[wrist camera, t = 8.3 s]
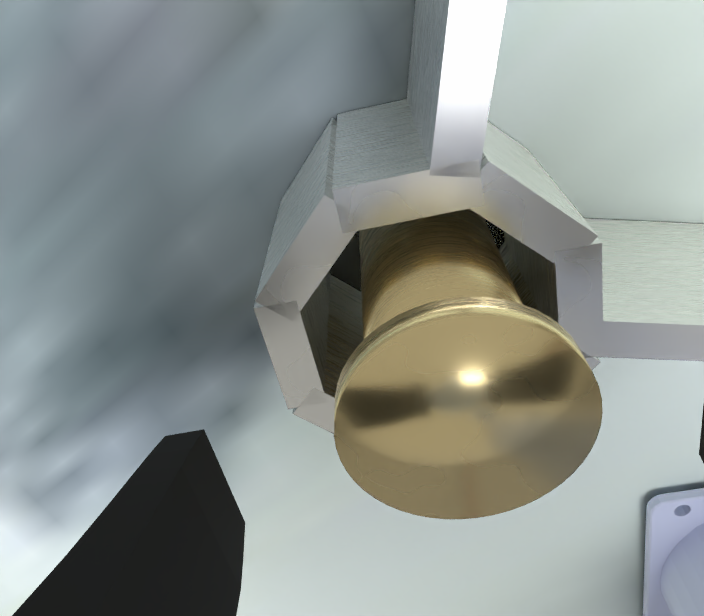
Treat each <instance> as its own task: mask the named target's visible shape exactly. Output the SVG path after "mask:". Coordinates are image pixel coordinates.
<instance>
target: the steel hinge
mask: <svg viewBox="0 0 704 616" xmlns="http://www.w3.org/2000/svg"><path fill="white" fill-rule="evenodd" d="M506 2H507V0H415V10H414V21H413V32H412V43H411V54H410V65H409V76H408V87H407V98H406V99H403V100H399V101H394V102H390V103H385V104H380V105H376V106H371V107H367V108H362V109H358V110H353V111H349V112H344V113H339V114H337V121H336V120H335V119H333V118H332V119H331V120H330V122H329V124H328V125H327V127H326V128H325V130H324V132H323V133H322V135H321V136H320V138H319V140H318V141H317V143H316V144H315V146H314V148H313V149H312V151H311V152H310V154H309V156H308V157H307V159H306V161H305V162H304V164H303V165H302V167H301V169H300V170H299V172H298V173H297V175H296V177H295V178H294V180H293V181H292V183H291V185H290V186H289V188H288V190H287V191H286V193H285V194H284V196H283V198H282V199H281V202H280V206H279V209H278V213H277V217H276V221H275V225H274V229H273V232H272V236H271V240H270V244H269V248H268V252H267V255H266V259H265V263H264V267H263V271H262V275H261V278H260V282H259V286H258V290H257V294H256V298H255V305H254V311H255V314H256V317H257V320H258V323H259V326H260V328H261V331H262V334H263V337H264V340H265V343H266V346H267V349H268V352H269V355H270V358H271V360H272V363H273V366H274V369H275V372H276V375H277V378H278V381H279V384H280V387H281V390H282V392H283V395H284V398H285V401H286V404H287V407H288V409H291V408H294V409H293V414H294V415H296V416H298V417H300V418H302V419H304V420H307V421H309V422H311V423H313V424H315V425H317V426H319V427H321V428H323V429H325V430H327V431H329V432H331V433H333V434H334V410H335V393H336V387H337V383H338V380H339V377H340V374H341V371H342V369H343V368H344V366H345V364H346V362H347V360H348V358H349V357H350V356H351V354H352V353H353V352H354V350H355V349H356V348H357V346H358V345H359V344H360V343H361V342H362V341H363V319H362V294H361V291H359V290H357V289H356V288H354V287H352V286H350V285H348V284H347V283H345V282H343V281H341V280H340V279H338V278H336V277H334V276H333V275H331V273H330V268H331V267H332V266H333V264H334V263H335V261H336V260H337V258H338V257H339V256H340V254H341V253H342V251H343V250H344V249H345V247H346V246H347V244H348V243H349V241H350V240H351V239H352V237H353V236H354V234H355V233H356V232H357V231H359V230H364V229H369V228H374V227H379V226H384V225H389V224H394V223H399V222H404V221H409V220H414V219H419V218H424V217H429V216H434V215H439V214H444V213H449V212H455V211H460V210H465V209H471V210H472V211H474V212H475V213H477V214H478V215H480V216H482V217H483V218H485V219H486V220H488V221H489V222H491V223H492V224H494V225H495V226H497V227H499V228H500V229H502V230H503V231H504V237H505V242H504V243H503V244H502V245H501V246H500V248H499V249H498V250H499V252H500V254H501V257H502V259H503V261H504V263H505V265H506V268H507V270H508V272H509V274H510V277H511V279H512V281H513V283H514V286H515V288H516V290H517V292H518V295H519V297H520V299H521V301H522V304H523V305H526V306H528V307H531V308H533V309H536V310H538V311H540V312H541V313H543V314H545V315H547V316H549V317H550V318H552V319H553V320H554V321H556V322H557V323H558V324H559V325H561V326H562V327H563V328H564V329H565V330H566V331H567V332H568V333H569V334H570V335H571V336H572V338H573V339H574V341H575V342H576V344H577V345H578V347H579V348H580V350H581V352H582V354H583V355H584V357H585V359H586V361H587V363H588V365H589V367H590V369H591V370H592V369H594V368H595V367H596V366H597V365H598V364H599V363H600V360H599V359H598V357H612V358H637V359H661V360H686V361H704V224H695V223H674V222H652V221H631V220H609V219H588V218H583V217H582V215H581V214H580V213H579V212H578V210H577V209H576V208H575V207H574V205H573V204H572V203H571V202H570V201H569V199H568V198H567V197H566V196H565V194H564V193H563V192H562V191H561V190H560V188H559V187H558V186H557V185H556V183H555V182H554V181H553V180H552V179H551V177H550V176H549V175H548V174H547V172H546V171H545V170H544V169H543V167H542V166H541V165H540V164H539V163H538V161H537V160H536V159H535V158H534V156H533V155H532V154H531V153H530V152H529V150H528V149H527V148H525V147H524V146H522V145H521V144H520V143H518V142H517V141H515V140H514V139H512V138H511V137H510V136H508V135H507V134H505V133H504V132H502V131H501V130H500V129H498V128H497V127H495V126H494V125H492V124H491V123H490V122H488V115H489V109H490V103H491V97H492V90H493V84H494V78H495V71H496V65H497V59H498V52H499V46H500V40H501V33H502V27H503V21H504V14H505V8H506Z"/></svg>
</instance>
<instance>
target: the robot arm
mask: <svg viewBox="0 0 704 616" xmlns="http://www.w3.org/2000/svg"><path fill="white" fill-rule="evenodd" d="M699 455H700V457H701V459H702V461H703V463H704V406H703V417H702V428H701V439H700V450H699ZM244 533H245V521H244V519H243V517H242V515H241V512H240V510H239V508H238V506H237V503H236V501H235V499H234V496H233V494H232V492H231V490H230V487H229V485H228V483H227V481H226V478H225V476H224V474H223V472H222V469H221V467H220V465H219V462H218V460H217V458H216V456H215V453H214V451H213V449H212V447H211V444H210V442H209V440H208V437H207V435H206V433H205V431H204V430H199V431H193V432H187V433H181V434H175V435H169V436H165V437H164V438H163V439H162V440H161V442H160V443H159V444H158V445H157V446H156V447H155V448H154V450H153V451H152V452H151V453H150V454H149V455H148V457H147V458H146V459H145V460H144V461H143V463H142V464H141V465H140V466H139V468H138V469H137V470H136V471H135V472H134V474H133V475H132V476H131V477H130V479H129V480H128V481H127V482H126V484H125V485H124V486H123V487H122V488H121V490H120V491H119V492H118V493H117V495H116V496H115V497H114V498H113V500H112V501H111V502H110V503H109V504H108V506H107V507H106V508H105V509H104V511H103V512H102V513H101V514H100V515H99V517H98V518H97V519H96V520H95V521H94V523H93V524H92V525H91V526H90V527H89V529H88V530H87V531H86V532H85V533H84V535H83V536H82V537H81V538H80V539H79V541H78V542H77V543H76V544H75V545H74V547H73V548H72V549H71V550H70V551H69V553H68V554H67V555H66V556H65V557H64V558H63V560H62V561H61V562H60V563H59V564H58V565H57V566H56V567H55V568H54V570H53V571H52V572H51V573H50V574H49V575H48V576H47V577H46V579H45V580H44V581H43V582H42V583H41V584H40V585H39V586H38V587H37V589H36V590H35V591H34V592H33V593H32V594H31V595H30V596H29V597H28V599H27V600H26V601H25V602H24V603H23V604H22V605H21V606H20V608H19V609H18V610H17V611H16V612H15V613H14V614H13V615H12V616H236V613H237V608H238V602H239V596H240V591H241V579H242V567H243V552H244ZM643 616H704V488H699V489H692V490H686V491H679V492H672V493H665V494H660V495H656V496H655V497H653V498H652V499H651V500H650V501H649V502H648V504H647V510H646V538H645V567H644V596H643Z"/></svg>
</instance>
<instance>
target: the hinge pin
mask: <svg viewBox="0 0 704 616" xmlns="http://www.w3.org/2000/svg"><path fill="white" fill-rule="evenodd" d="M359 245H360V270H361V294H362V319H363V341H362V342H361V343H360V344H359V345H358V346H357V348H356V349H355V350H354V352H353V353H352V354H351V356H350V357H349V358H348V360H347V362H346V364H345V366H344V368H343V369H342V371H341V374H340V377H339V380H338V383H337V387H336V393H335V410H334V438H335V444H336V449H337V452H338V455H339V458H340V460H341V462H342V464H343V466H344V467H345V469H346V471H347V472H348V474H349V475H350V476H351V477H352V479H353V480H354V481H355V482H356V483H357V484H358V485H359V486H360V487H361V488H362V489H363V490H364V491H366V492H367V493H368V494H370V495H371V496H373V497H374V498H375V499H377V500H379V501H381V502H383V503H385V504H386V505H388V506H391V507H393V508H396V509H398V510H401V511H404V512H407V513H411V514H414V515H419V516H424V517H430V518H440V519H468V518H478V517H484V516H490V515H495V514H499V513H503V512H507V511H510V510H512V509H515V508H518V507H521V506H523V505H526V504H528V503H530V502H532V501H534V500H537V499H538V498H540V497H542V496H543V495H545V494H547V493H549V492H550V491H552V490H553V489H554V488H556V487H557V486H559V485H560V484H561V483H563V482H564V481H565V480H566V479H567V478H568V477H569V476H571V475H572V474H573V473H574V472H575V470H576V469H577V468H578V467H579V466H580V465H581V464H582V463H583V461H584V460H585V458H586V457H587V455H588V454H589V452H590V451H591V449H592V447H593V445H594V443H595V441H596V439H597V436H598V432H599V429H600V426H601V419H602V398H601V394H600V389H599V386H598V383H597V381H596V379H595V377H594V374H593V372H592V370H591V369H590V367H589V365H588V363H587V361H586V359H585V357H584V355H583V354H582V352H581V350H580V348H579V347H578V345H577V344H576V342H575V341H574V339H573V338H572V336H571V335H570V334H569V333H568V332H567V331H566V330H565V329H564V328H563V327H562V326H561V325H559V324H558V323H557V322H556V321H554V320H553V319H552V318H550V317H549V316H547V315H545V314H543V313H541V312H540V311H538V310H536V309H533V308H531V307H528V306H526V305H523V304H522V301H521V299H520V297H519V295H518V292H517V290H516V288H515V286H514V283H513V281H512V279H511V277H510V274H509V272H508V270H507V268H506V265H505V263H504V261H503V259H502V257H501V254H500V252H499V250H498V248H497V245H496V243H495V241H494V239H493V236H492V234H491V232H490V230H489V227H488V225H487V223H486V221H485V218H483V217H482V216H480V215H478V214H477V213H475V212H474V211H472V210H471V209H465V210H460V211H455V212H449V213H444V214H439V215H434V216H429V217H424V218H419V219H414V220H409V221H404V222H399V223H394V224H389V225H384V226H379V227H374V228H369V229H364V230H359Z"/></svg>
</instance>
